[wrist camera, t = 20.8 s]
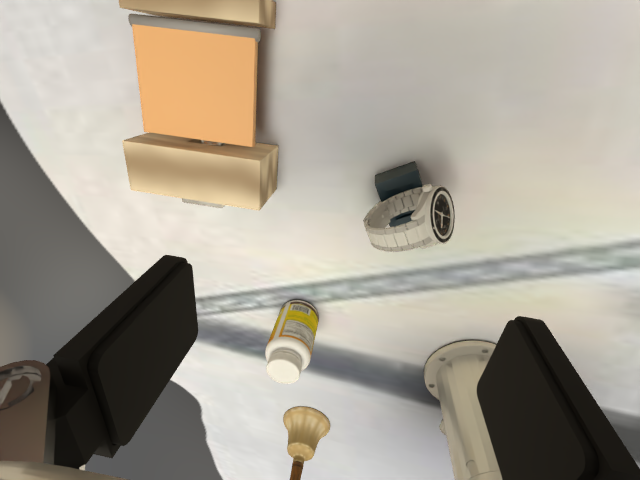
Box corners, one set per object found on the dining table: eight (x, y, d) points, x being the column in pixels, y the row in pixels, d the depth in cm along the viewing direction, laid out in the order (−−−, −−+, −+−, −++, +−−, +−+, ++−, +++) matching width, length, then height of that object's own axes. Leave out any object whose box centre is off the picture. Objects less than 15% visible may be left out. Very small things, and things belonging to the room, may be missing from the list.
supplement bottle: (291, 332, 49) (273, 392, 40) (274, 303, 47) (250, 360, 38) (326, 323, 47) (314, 384, 38) (309, 293, 45) (292, 350, 36)
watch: (446, 201, 37) (471, 251, 27) (375, 223, 39) (375, 275, 29) (433, 154, 35) (455, 188, 25) (359, 179, 37) (353, 220, 27)
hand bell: (275, 410, 58) (243, 520, 44) (316, 402, 56) (296, 515, 42) (297, 439, 61) (274, 550, 47) (338, 432, 59) (326, 548, 45)
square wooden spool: (276, 188, 39) (259, 210, 33) (165, 172, 40) (131, 190, 34) (284, 3, 30) (263, -10, 25) (143, -12, 31) (92, -28, 26)
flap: (257, 145, 33) (254, 147, 32) (147, 130, 34) (141, 131, 33) (260, 29, 28) (257, 27, 28) (135, 14, 29) (127, 12, 29)
